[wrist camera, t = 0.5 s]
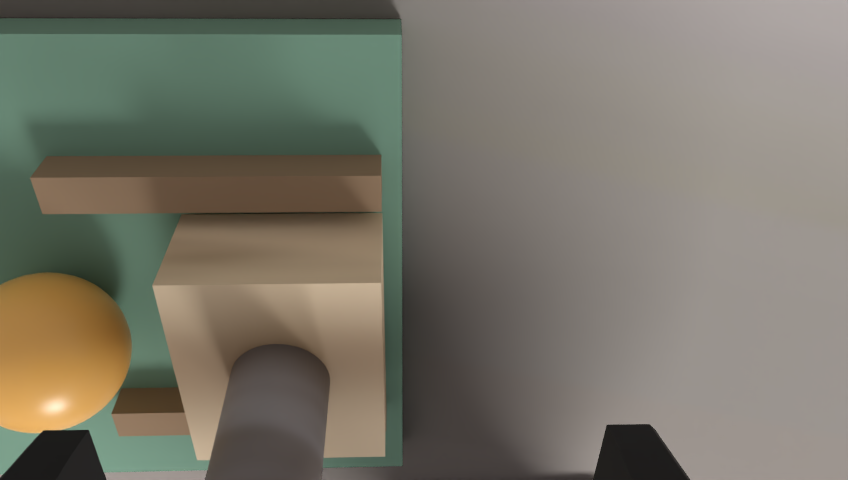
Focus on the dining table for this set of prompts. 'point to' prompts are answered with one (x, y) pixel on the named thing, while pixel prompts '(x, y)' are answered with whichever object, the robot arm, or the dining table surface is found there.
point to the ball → (58, 351)
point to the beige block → (277, 339)
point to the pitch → (189, 175)
